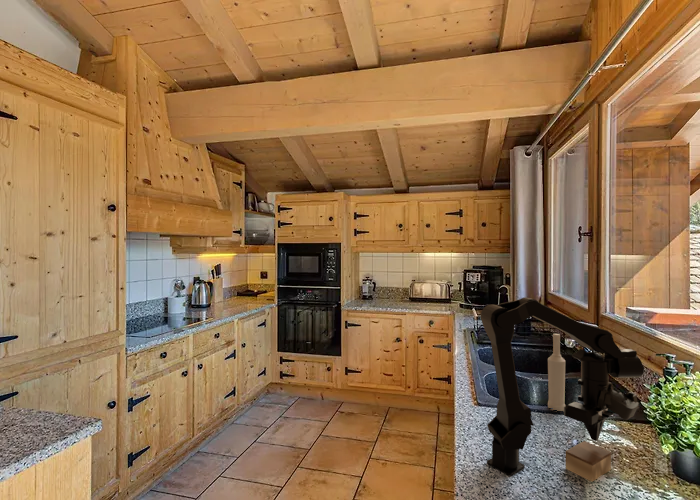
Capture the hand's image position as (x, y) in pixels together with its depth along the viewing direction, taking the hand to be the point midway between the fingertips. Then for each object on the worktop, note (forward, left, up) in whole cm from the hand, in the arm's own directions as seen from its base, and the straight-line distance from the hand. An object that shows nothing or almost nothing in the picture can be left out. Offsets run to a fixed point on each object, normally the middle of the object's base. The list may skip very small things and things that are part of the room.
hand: (594, 440), depth 92 cm
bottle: (+25, +22, -6) cm, 34 cm away
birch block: (+1, 0, -4) cm, 4 cm away
